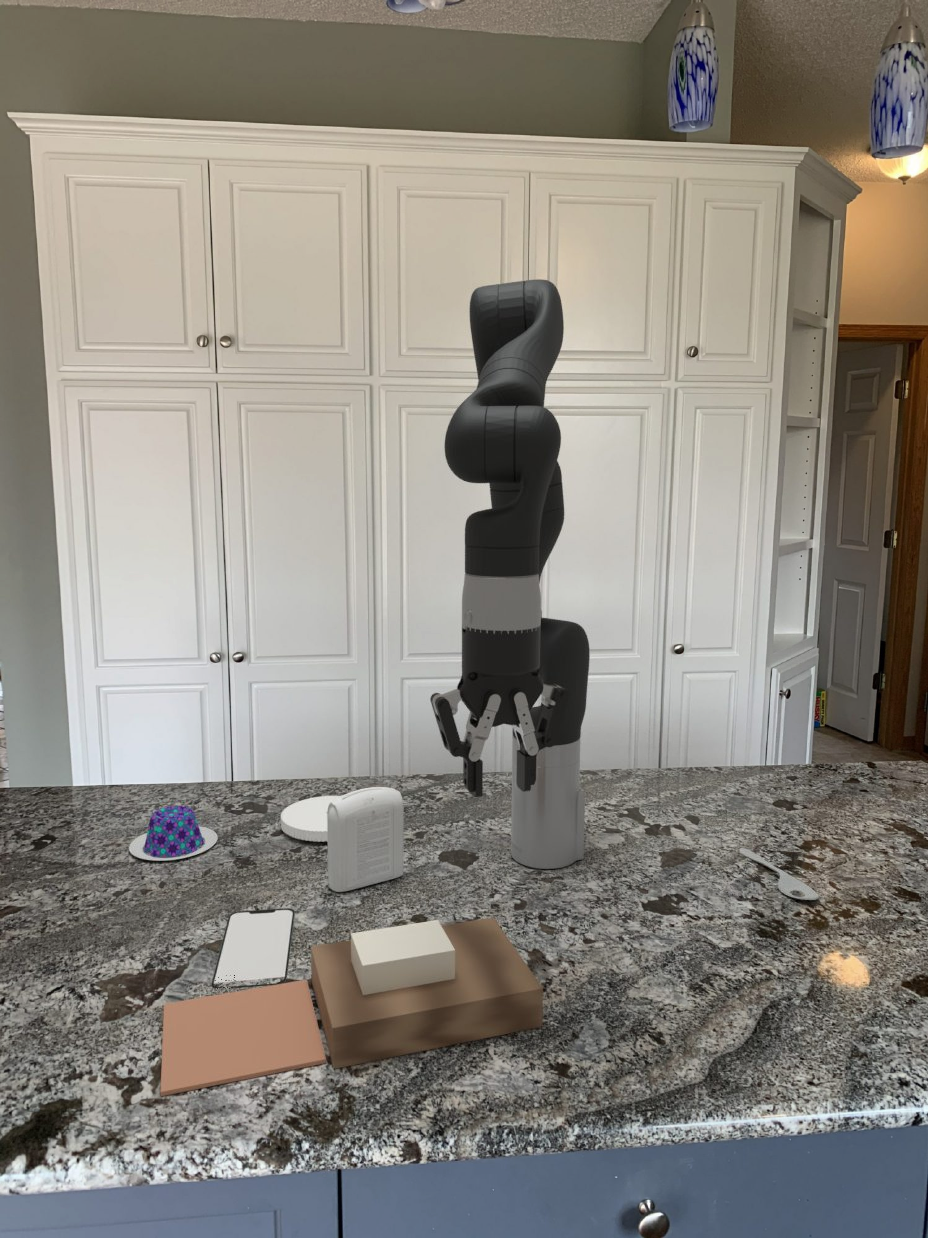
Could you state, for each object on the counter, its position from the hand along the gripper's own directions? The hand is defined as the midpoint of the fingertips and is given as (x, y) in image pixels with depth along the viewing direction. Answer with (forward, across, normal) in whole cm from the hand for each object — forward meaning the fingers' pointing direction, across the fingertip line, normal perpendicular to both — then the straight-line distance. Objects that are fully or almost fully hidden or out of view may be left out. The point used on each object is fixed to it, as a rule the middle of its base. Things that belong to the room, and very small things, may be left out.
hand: (499, 791), depth 85 cm
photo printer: (+22, +8, -28) cm, 36 cm away
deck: (+21, +8, 0) cm, 23 cm away
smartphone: (+22, +23, -16) cm, 36 cm away
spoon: (+22, -44, -15) cm, 51 cm away
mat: (+21, +26, 0) cm, 33 cm away
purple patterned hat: (+22, +32, -47) cm, 61 cm away
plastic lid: (+22, +10, -47) cm, 53 cm away
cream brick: (+17, +10, 0) cm, 20 cm away
